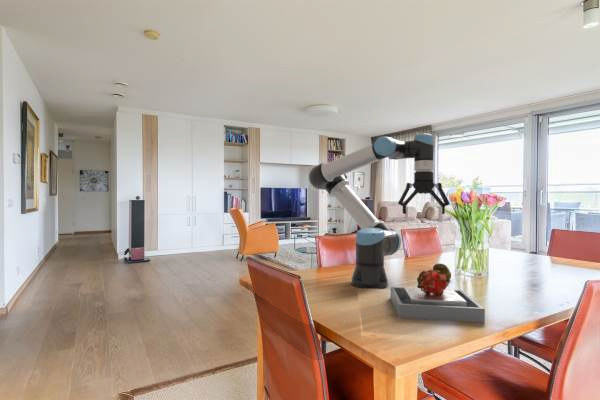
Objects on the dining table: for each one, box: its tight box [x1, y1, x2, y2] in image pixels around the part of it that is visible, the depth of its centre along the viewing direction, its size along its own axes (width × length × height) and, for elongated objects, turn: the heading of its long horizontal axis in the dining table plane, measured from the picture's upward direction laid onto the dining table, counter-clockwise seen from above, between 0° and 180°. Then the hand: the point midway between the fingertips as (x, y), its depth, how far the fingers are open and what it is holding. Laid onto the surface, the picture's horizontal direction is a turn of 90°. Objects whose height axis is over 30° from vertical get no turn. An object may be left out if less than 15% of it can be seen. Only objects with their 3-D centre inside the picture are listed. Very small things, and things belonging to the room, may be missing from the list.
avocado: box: [432, 263, 452, 282], centre depth 151 cm, size 8×13×8 cm, turn 128°
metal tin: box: [403, 286, 466, 307], centre depth 109 cm, size 16×14×5 cm
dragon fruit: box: [416, 269, 449, 295], centre depth 109 cm, size 8×8×12 cm
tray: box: [389, 286, 486, 324], centre depth 109 cm, size 24×20×5 cm
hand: (423, 222), depth 142 cm, fingers open, 13 cm apart
